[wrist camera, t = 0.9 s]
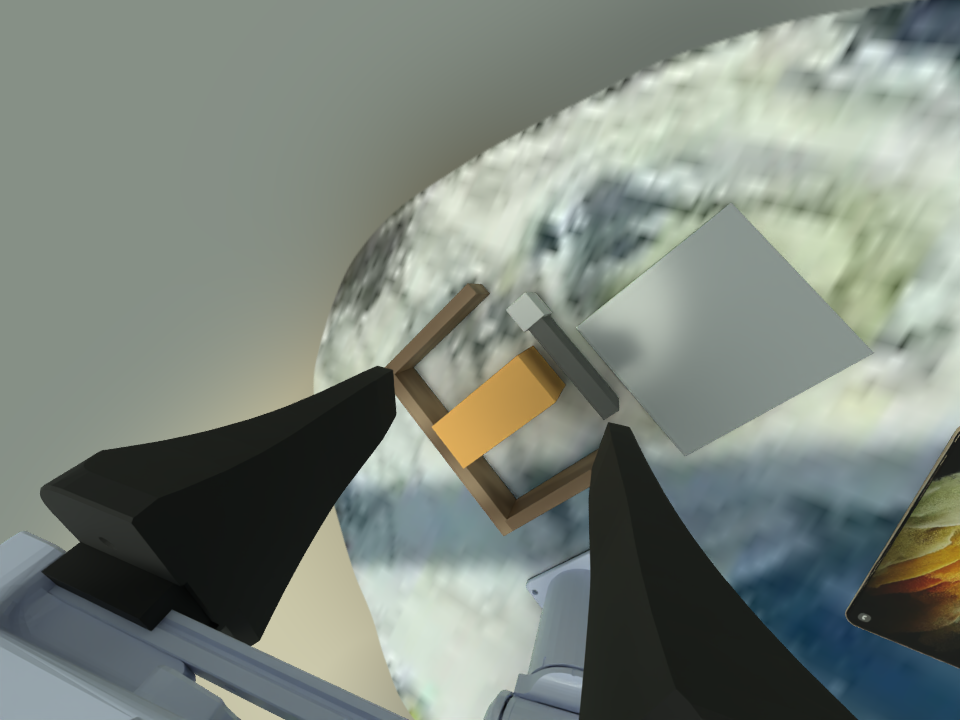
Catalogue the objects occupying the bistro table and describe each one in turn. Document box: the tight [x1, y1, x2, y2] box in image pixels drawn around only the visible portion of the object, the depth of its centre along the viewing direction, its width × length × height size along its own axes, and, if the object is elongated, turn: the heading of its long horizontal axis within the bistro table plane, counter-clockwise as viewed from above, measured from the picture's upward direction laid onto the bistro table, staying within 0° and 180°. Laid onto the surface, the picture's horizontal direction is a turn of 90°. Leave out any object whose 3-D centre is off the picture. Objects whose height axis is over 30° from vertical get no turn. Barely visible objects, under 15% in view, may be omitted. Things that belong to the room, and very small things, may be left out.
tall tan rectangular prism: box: [432, 346, 565, 469], centre depth 27 cm, size 4×9×5 cm, turn 132°
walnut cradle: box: [385, 283, 598, 536], centre depth 29 cm, size 17×11×3 cm, turn 42°
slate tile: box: [576, 203, 874, 456], centre depth 24 cm, size 12×12×1 cm
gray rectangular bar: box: [506, 292, 619, 420], centre depth 25 cm, size 10×2×3 cm, turn 42°
